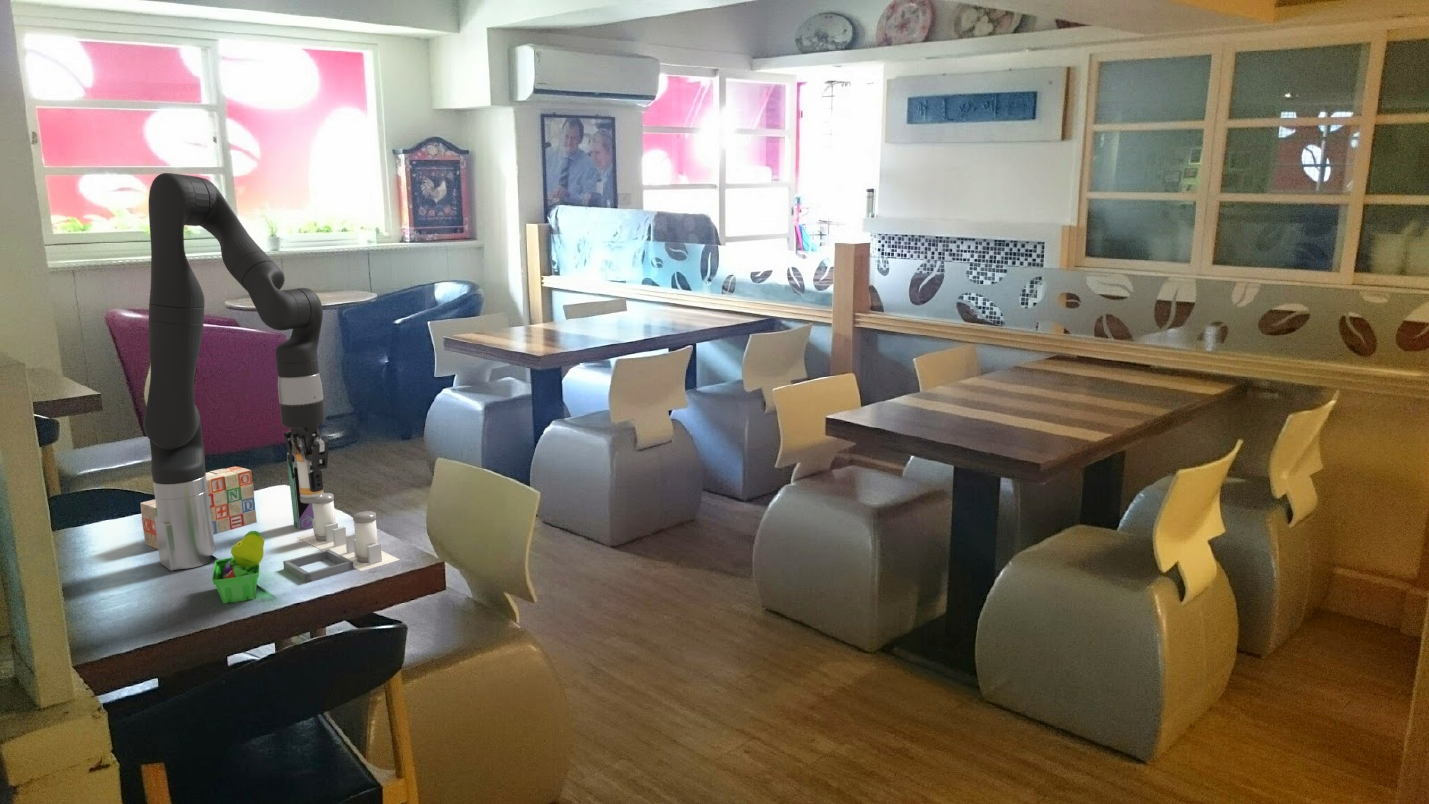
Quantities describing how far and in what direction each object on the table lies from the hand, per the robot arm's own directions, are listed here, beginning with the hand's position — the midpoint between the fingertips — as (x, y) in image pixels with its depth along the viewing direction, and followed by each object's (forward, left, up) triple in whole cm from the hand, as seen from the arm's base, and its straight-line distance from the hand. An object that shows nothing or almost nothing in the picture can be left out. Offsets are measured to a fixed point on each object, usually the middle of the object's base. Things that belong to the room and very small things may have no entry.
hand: (311, 488), depth 190 cm
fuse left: (+9, +16, -16) cm, 24 cm away
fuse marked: (0, 0, -2) cm, 2 cm away
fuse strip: (+9, +7, -17) cm, 21 cm away
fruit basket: (-13, +3, -18) cm, 22 cm away
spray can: (+10, +27, -18) cm, 34 cm away
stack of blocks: (-6, +43, -18) cm, 47 cm away
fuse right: (+9, -2, -16) cm, 18 cm away
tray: (0, 0, -17) cm, 17 cm away
